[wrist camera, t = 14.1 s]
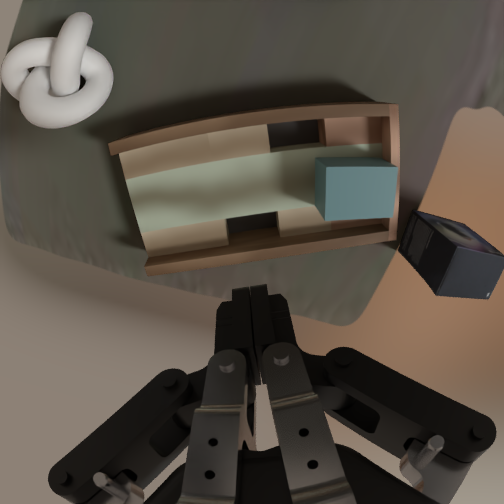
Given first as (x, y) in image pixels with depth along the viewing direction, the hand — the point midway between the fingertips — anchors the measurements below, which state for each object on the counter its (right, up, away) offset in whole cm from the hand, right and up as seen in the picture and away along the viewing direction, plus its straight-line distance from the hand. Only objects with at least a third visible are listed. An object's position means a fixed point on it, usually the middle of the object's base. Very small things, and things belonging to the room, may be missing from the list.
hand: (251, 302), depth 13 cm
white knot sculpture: (-18, +21, +12) cm, 30 cm away
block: (+10, +9, +16) cm, 21 cm away
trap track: (+1, +10, +19) cm, 21 cm away
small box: (+25, +5, +23) cm, 34 cm away
